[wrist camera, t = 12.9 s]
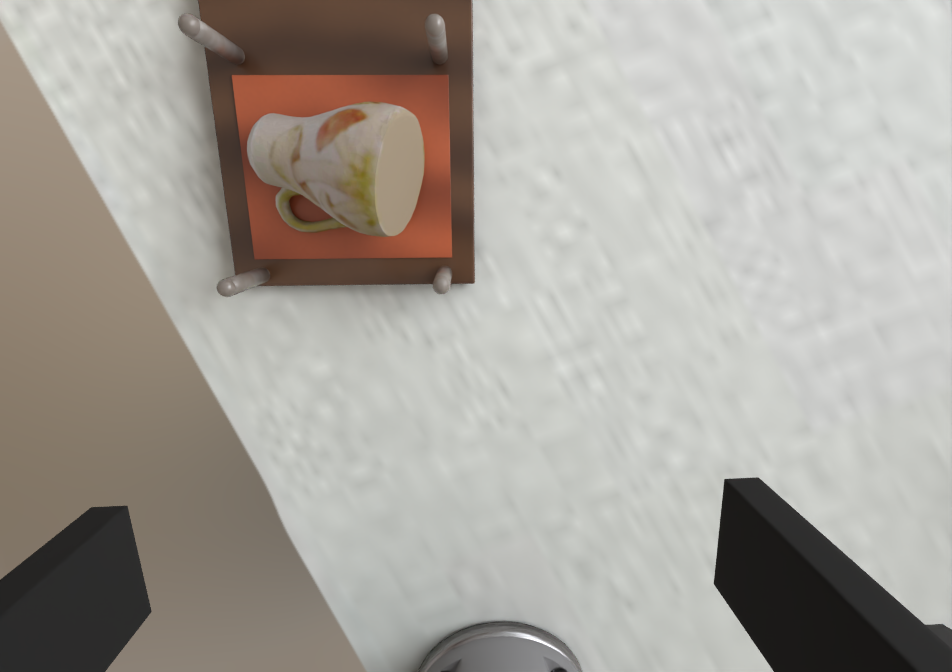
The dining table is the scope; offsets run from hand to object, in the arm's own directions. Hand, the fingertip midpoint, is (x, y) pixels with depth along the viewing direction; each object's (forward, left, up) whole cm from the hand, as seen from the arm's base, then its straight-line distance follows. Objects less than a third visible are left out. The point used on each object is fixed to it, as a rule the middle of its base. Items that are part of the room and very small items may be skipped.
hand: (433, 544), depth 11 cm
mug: (+9, +7, -24) cm, 26 cm away
